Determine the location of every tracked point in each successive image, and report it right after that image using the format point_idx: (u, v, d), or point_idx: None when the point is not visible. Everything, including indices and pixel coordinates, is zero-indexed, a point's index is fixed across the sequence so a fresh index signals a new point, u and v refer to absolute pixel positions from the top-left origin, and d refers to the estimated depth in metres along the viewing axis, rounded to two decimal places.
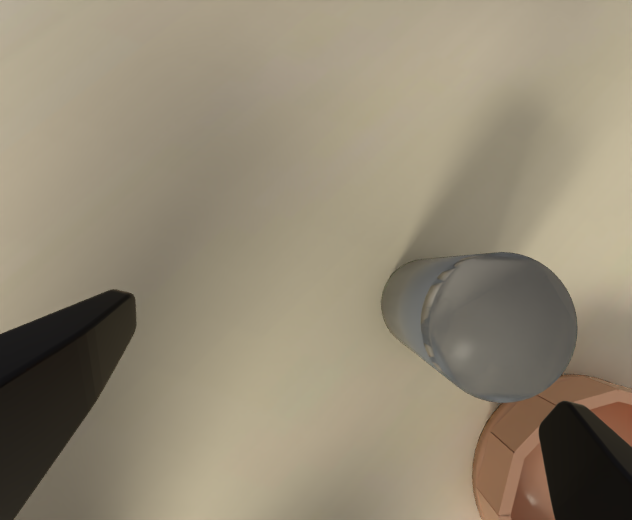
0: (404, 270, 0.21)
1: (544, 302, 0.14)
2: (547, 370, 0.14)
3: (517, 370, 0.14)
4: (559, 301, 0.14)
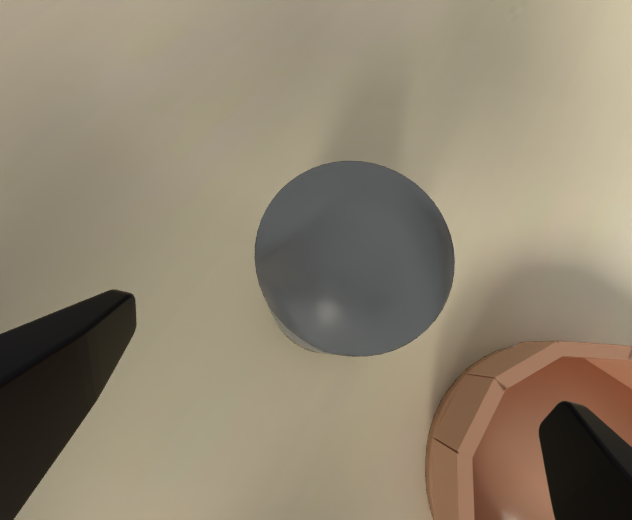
0: None
1: (402, 212, 0.11)
2: (427, 298, 0.10)
3: (387, 306, 0.10)
4: (420, 208, 0.11)
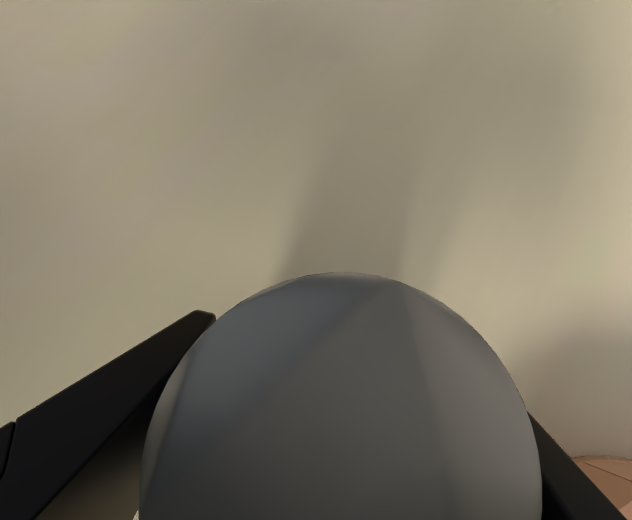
0: None
1: (436, 378, 0.05)
2: None
3: None
4: (471, 368, 0.06)
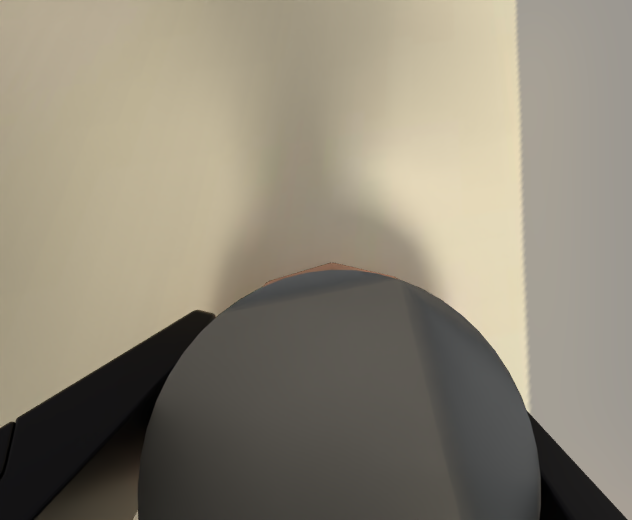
0: None
1: (435, 375, 0.05)
2: None
3: None
4: (470, 365, 0.06)
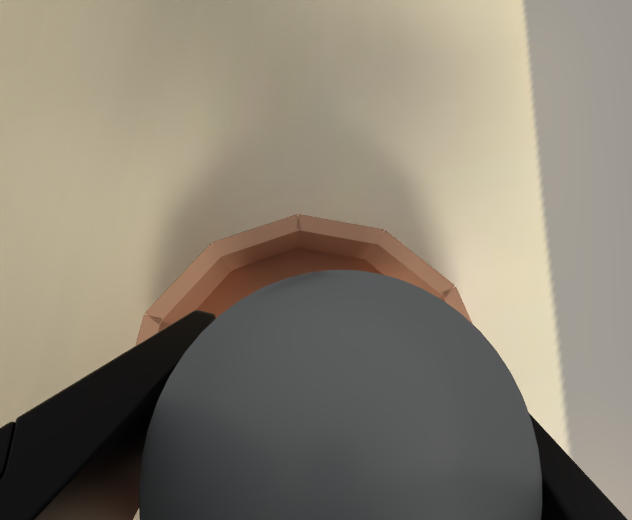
0: None
1: (437, 375, 0.05)
2: None
3: None
4: (471, 365, 0.06)
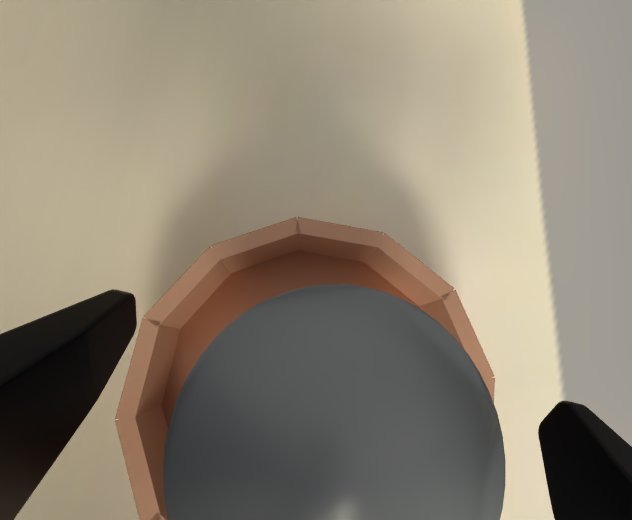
0: None
1: (416, 375, 0.06)
2: None
3: None
4: (446, 366, 0.06)
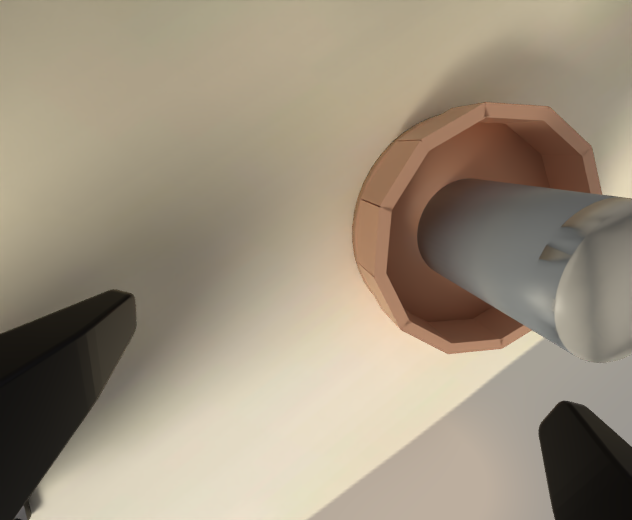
0: (493, 181, 0.18)
1: None
2: (616, 348, 0.13)
3: (600, 332, 0.12)
4: None
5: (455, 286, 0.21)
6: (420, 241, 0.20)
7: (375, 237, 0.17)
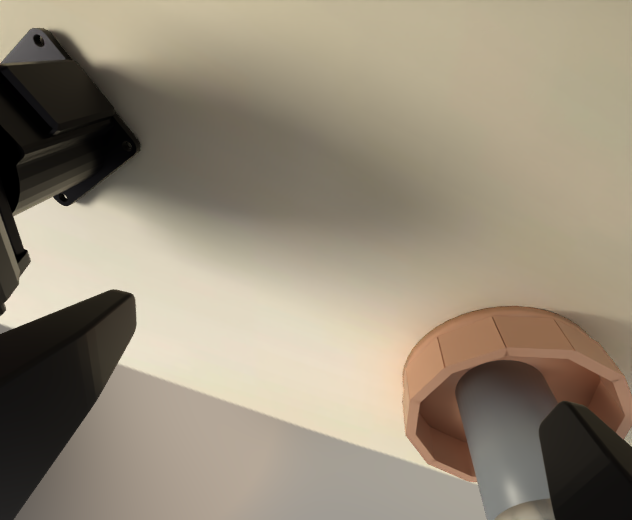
0: None
1: None
2: None
3: None
4: None
5: (449, 405, 0.25)
6: (477, 370, 0.23)
7: (477, 353, 0.20)
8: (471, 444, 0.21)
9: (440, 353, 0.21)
